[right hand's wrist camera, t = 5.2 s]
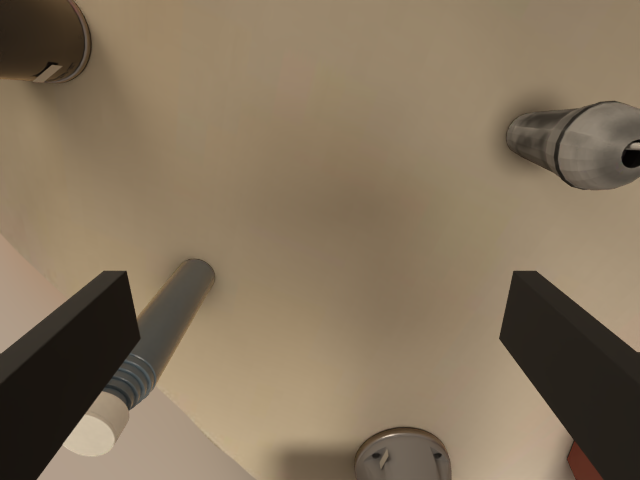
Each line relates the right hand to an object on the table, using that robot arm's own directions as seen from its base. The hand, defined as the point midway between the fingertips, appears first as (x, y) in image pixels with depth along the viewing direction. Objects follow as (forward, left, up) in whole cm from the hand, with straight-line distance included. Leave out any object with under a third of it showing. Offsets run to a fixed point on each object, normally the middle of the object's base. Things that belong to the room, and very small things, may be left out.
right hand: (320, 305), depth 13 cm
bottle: (-15, +16, -32) cm, 39 cm away
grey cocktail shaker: (+3, -23, -32) cm, 40 cm away
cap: (-15, +16, -8) cm, 24 cm away
